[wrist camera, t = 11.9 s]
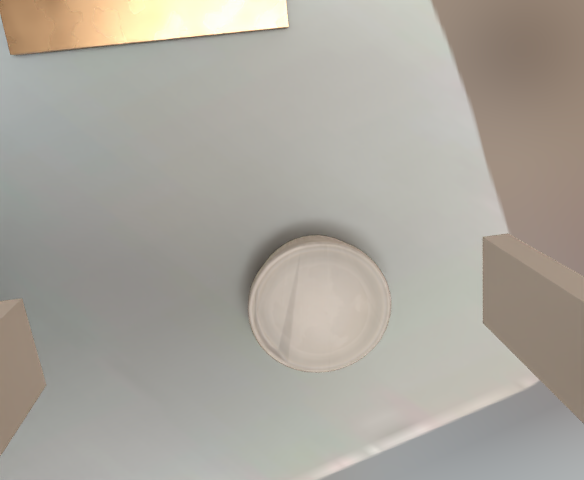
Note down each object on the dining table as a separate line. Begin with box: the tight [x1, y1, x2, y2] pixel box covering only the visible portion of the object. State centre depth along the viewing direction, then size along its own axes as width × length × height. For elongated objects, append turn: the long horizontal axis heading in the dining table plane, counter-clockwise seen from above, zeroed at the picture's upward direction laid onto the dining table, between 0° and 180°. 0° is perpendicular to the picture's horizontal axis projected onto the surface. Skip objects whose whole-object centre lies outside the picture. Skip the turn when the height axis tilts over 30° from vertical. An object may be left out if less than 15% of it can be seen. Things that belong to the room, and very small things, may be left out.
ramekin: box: [248, 235, 391, 373], centre depth 44 cm, size 11×11×5 cm
